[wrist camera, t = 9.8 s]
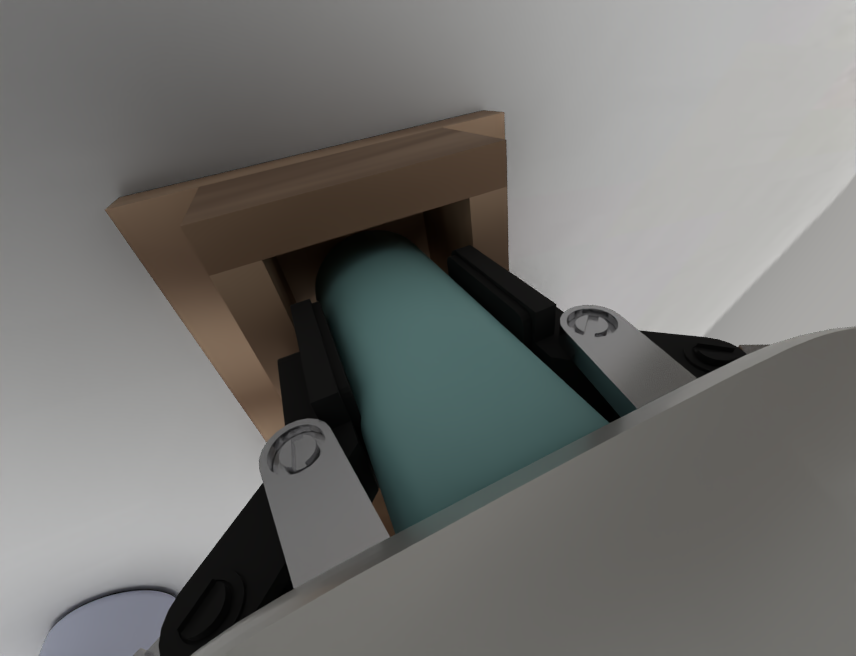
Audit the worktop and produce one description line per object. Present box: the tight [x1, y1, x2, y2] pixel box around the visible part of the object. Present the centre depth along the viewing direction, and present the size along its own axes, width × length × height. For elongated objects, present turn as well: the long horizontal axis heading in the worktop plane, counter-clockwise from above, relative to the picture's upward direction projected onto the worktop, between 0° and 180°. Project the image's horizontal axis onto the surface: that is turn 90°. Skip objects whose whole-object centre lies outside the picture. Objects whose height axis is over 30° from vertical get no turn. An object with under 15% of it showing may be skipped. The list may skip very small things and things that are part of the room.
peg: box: [315, 230, 609, 534], centre depth 9 cm, size 4×4×10 cm
